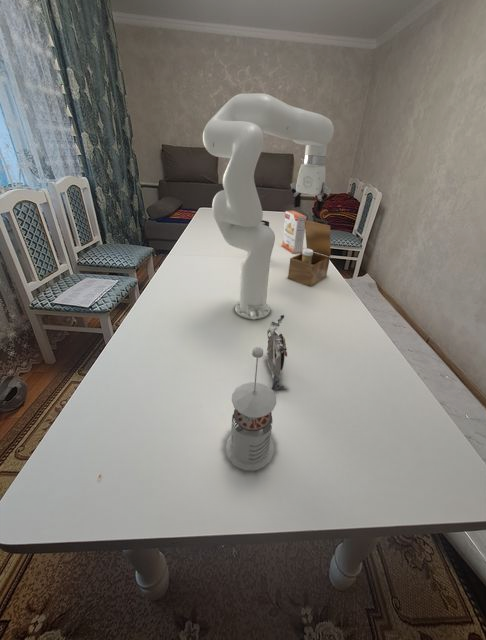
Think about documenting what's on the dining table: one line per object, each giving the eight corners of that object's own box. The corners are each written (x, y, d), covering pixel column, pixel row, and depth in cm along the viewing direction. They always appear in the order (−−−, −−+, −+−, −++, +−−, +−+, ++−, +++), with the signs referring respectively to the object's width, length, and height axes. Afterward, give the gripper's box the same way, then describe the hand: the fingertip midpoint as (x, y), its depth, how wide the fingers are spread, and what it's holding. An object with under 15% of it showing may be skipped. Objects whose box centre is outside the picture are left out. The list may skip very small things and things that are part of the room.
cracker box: (281, 245, 176) (285, 210, 166) (290, 245, 179) (294, 210, 169) (293, 253, 165) (297, 216, 155) (302, 252, 168) (307, 215, 158)
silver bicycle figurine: (288, 390, 74) (294, 348, 67) (271, 390, 73) (276, 348, 67) (279, 352, 87) (284, 314, 80) (265, 352, 86) (268, 314, 80)
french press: (215, 451, 58) (214, 351, 46) (249, 413, 66) (256, 320, 54) (256, 481, 53) (267, 379, 41) (287, 436, 62) (303, 340, 50)
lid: (329, 226, 123) (335, 219, 125) (304, 220, 129) (310, 214, 131) (329, 256, 135) (335, 249, 137) (306, 250, 141) (312, 243, 143)
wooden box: (310, 286, 129) (314, 265, 124) (287, 278, 134) (290, 258, 130) (326, 276, 140) (330, 257, 135) (304, 269, 146) (307, 250, 141)
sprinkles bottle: (297, 277, 134) (301, 249, 127) (302, 275, 137) (306, 247, 131) (305, 281, 131) (309, 252, 125) (310, 278, 135) (315, 250, 128)
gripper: (288, 158, 108) (283, 206, 117) (331, 163, 100) (323, 214, 108) (299, 159, 114) (293, 204, 122) (340, 163, 105) (331, 212, 114)
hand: (307, 209), depth 115 cm, fingers open, 9 cm apart
